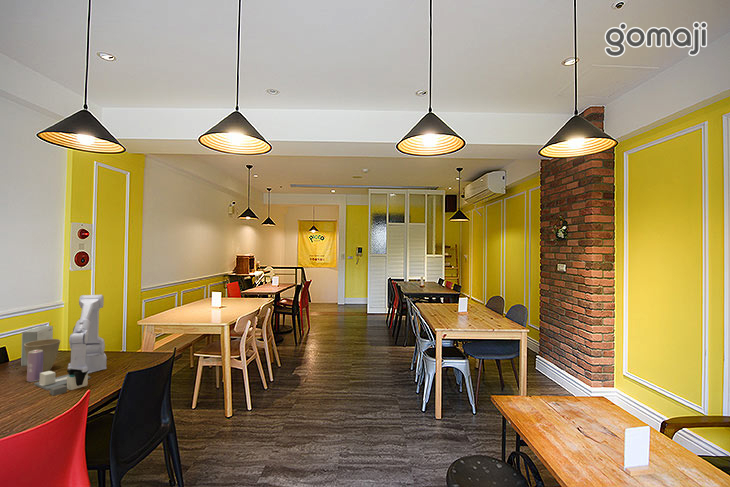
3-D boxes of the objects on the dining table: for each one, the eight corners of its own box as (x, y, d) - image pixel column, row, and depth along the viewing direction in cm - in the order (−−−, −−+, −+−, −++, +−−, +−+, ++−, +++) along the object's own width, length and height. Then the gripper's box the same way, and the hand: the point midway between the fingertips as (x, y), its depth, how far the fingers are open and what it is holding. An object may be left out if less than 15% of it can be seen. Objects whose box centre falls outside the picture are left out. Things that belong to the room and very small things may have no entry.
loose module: (83, 383, 178) (83, 371, 178) (87, 385, 176) (87, 373, 176) (66, 388, 172) (67, 375, 172) (70, 390, 170) (71, 377, 170)
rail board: (76, 373, 192) (77, 362, 192) (90, 378, 185) (90, 366, 185) (34, 384, 176) (34, 371, 176) (47, 390, 169) (48, 376, 169)
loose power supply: (63, 390, 170) (63, 384, 170) (66, 392, 168) (66, 386, 168) (49, 394, 165) (50, 388, 165) (53, 396, 163) (53, 389, 163)
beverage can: (45, 378, 185) (46, 349, 185) (33, 382, 179) (34, 353, 179) (35, 377, 185) (36, 349, 185) (23, 381, 179) (24, 352, 179)
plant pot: (17, 373, 191) (18, 343, 192) (49, 365, 205) (50, 337, 205) (32, 377, 186) (33, 347, 186) (65, 368, 199) (66, 340, 200)
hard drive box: (38, 358, 217) (39, 325, 218) (52, 357, 219) (54, 325, 220) (20, 366, 202) (21, 331, 203) (36, 365, 204) (37, 331, 204)
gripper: (61, 356, 174) (60, 383, 174) (76, 361, 167) (75, 389, 167) (77, 352, 180) (77, 379, 180) (93, 357, 174) (92, 384, 173)
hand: (77, 384), depth 174 cm, fingers closed on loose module, 4 cm apart
